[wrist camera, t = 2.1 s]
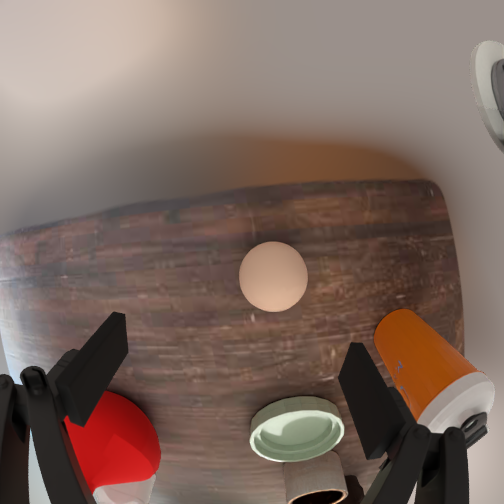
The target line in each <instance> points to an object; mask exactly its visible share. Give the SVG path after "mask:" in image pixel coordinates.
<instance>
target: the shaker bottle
mask: <svg viewBox="0 0 504 504" xmlns="http://www.w3.org/2000/svg"><path fill="white" fill-rule="evenodd" d="M374 344H375V346H376V348H377V350H378V352H379V354H380V356H381V358H382V360H383V362H384V364H385V366H386V367H387V369H388V371H389V373H390V375H391V377H392V379H393V381H394V383H395V385H396V387H397V389H398V391H399V392H400V393H401V395H402V397H403V399H404V401H405V402H406V404H407V406H408V407H409V409H410V411H411V413H412V415H413V416H414V418H415V420H416V422H417V424H422V425H424V426H426V427H428V428H429V430H430V431H431V432H432V433H444V431H445V430H446V429H447V428H448V427H453V426H454V427H457V428H459V429H461V430H462V431H463V433H464V435H465V439H466V448H467V449H468V448H469V447H471V446H472V445H473V444H475V443H476V442H477V441H478V440H480V439H481V438H482V437H483V436H485V435H486V434H487V433H488V432H489V427H488V425H487V423H486V422H487V415H488V413H489V412H490V410H491V408H492V405H493V402H494V397H495V387H494V384H493V383H492V382H491V381H490V380H489V378H488V377H487V376H486V375H485V374H484V372H481V371H478V370H477V369H476V368H475V367H474V366H473V365H472V364H471V363H470V362H469V361H467V360H466V359H465V358H464V357H463V356H462V355H461V354H460V353H459V352H458V351H457V350H456V349H455V348H454V347H453V346H451V345H450V344H449V343H448V342H447V341H446V340H445V339H444V338H443V337H442V336H440V335H439V334H438V333H437V332H436V331H435V330H434V329H433V328H431V327H430V326H429V325H428V324H427V323H426V322H425V321H423V320H422V319H421V318H420V317H419V316H418V315H417V314H415V313H414V312H413V311H411V310H409V309H398V310H395V311H393V312H391V313H389V314H388V315H387V316H385V317H384V318H383V319H382V320H381V322H380V323H379V324H378V326H377V328H376V330H375V333H374Z"/></svg>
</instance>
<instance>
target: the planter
mask: <svg viewBox="0 0 504 504" xmlns="http://www.w3.org/2000/svg"><path fill="white" fill-rule="evenodd" d="M283 472H284V482H285V491H286V502H287V504H336V503H338V502H340V501H342V500H343V499H345V498H346V497H347V495H348V491H347V487H346V482H345V478H344V474H343V469H342V465H341V461H340V457H339V455H338V454H337V453H336V452H334V451H331V450H329V451H328V452H326V453H324V454H322V455H320V456H318V457H315V458H312V459H309V460H304V461H298V462H285V464H284V466H283Z"/></svg>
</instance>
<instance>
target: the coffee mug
mask: <svg viewBox="0 0 504 504" xmlns="http://www.w3.org/2000/svg"><path fill="white" fill-rule="evenodd" d="M344 478H345V482H346V487H347V491H348V495H347V497H346V498H345V499H343V500H342V501H340V502H338V503H336V504H360V503H361V501H362V500H363V498H364V497H365V495H364V492H363V488H362V487H361V486H360V484H359V482H358V480H357V478H356V476H344Z"/></svg>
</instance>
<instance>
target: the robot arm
mask: <svg viewBox="0 0 504 504" xmlns="http://www.w3.org/2000/svg"><path fill="white" fill-rule="evenodd" d="M491 84H492V90H493V94H494V98H495V101H496V104H497V107H498V110H499V112H500V115H501V117H502V119H503V121H504V59H501V60H497V61H496V62H495V63H494V64H493V66H492V70H491ZM127 354H128V342H127V332H126V320H125V314H123V313H118V312H113V313H112V314H111V315H110V316H109V317H108V318H107V319H106V321H105V322H104V323H103V324H102V325H101V326H100V327H99V329H98V330H97V331H96V332H95V333H94V334H93V335H92V337H91V338H90V339H89V340H88V341H87V342H86V344H85V345H84V346H83V347H82V348H81V349H80V351H79V350H76V349H72V350H70V351H68V352H66V353H65V354H64V355H63V356H62V357H61V359H60V360H59V361H58V362H57V363H56V364H55V365H54V367H53V368H52V369H51V370H50V371H49V372H48V374H47V375H46V374H45V372H44V370H43V369H42V368H40V367H37V366H30V367H27V368H25V369H24V370H23V371H22V372H21V374H20V379H21V381H22V384H23V385H19V384H15V383H14V381H13V379H12V377H10V376H9V375H6V374H1V375H0V504H30V503H29V486H28V485H29V484H28V459H29V457H28V456H29V439H30V427H31V432H32V437H33V442H34V447H35V451H36V455H37V460H38V463H39V467H40V471H41V474H42V478H43V481H44V484H45V487H46V490H47V493H48V496H49V499H50V502H51V504H97V503H96V501H95V499H94V497H93V495H92V493H91V491H90V489H89V486H88V484H87V482H86V480H85V477H84V475H83V472H82V470H81V467H80V465H79V462H78V460H77V457H76V454H75V451H74V449H73V446H72V443H71V440H70V437H69V434H68V430H67V427H66V424H65V421H64V419H65V417H66V416H67V415H68V418H69V420H70V422H71V423H73V424H76V425H78V426H81V427H83V428H84V426H85V425H86V423H87V421H88V419H89V418H90V416H91V414H92V412H93V410H94V409H95V407H96V405H97V404H98V402H99V400H100V398H101V397H102V395H103V393H104V392H105V390H106V388H107V387H108V385H109V383H110V381H111V380H112V378H113V376H114V375H115V373H116V372H117V370H118V368H119V367H120V365H121V363H122V362H123V360H124V358H125V357H126V355H127ZM338 379H339V382H340V385H341V388H342V390H343V393H344V396H345V398H346V401H347V404H348V407H349V410H350V412H351V415H352V418H353V421H354V424H355V427H356V429H357V432H358V435H359V438H360V441H361V444H362V447H363V450H364V453H365V456H366V459H367V460H370V459H376V458H381V457H382V455H383V454H384V453H385V451H386V452H387V455H388V457H387V459H386V460H385V461H384V462H383V463H382V465H381V466H380V467H379V468H380V471H379V473H378V475H377V476H376V478H375V480H374V482H373V483H372V485H371V487H370V489H369V490H368V492H367V493H366V495H365V497H364V498H363V500H362V501H361V503H360V504H407V503H408V500H409V498H410V496H411V494H412V491H413V489H414V486H415V484H416V482H417V488H416V496H415V502H414V504H469V473H468V459H467V448H466V439H465V435H464V433H463V431H462V430H461V429H459V428H457V427H454V426H453V427H448V428H447V429H446V430H445V431H444V433H432V432H431V431H430V430H429V428H428V427H426V426H424V425H422V424H417V422H416V420H415V418H414V416H413V415H412V413H411V411H410V409H409V407H408V406H407V404H406V402H405V401H404V399H403V397H402V395H401V393H400V392H399V391H398V390H396V389H395V388H394V387H387V385H386V384H385V382H384V380H383V378H382V376H381V375H380V373H379V371H378V369H377V367H376V366H375V364H374V362H373V360H372V359H371V357H370V355H369V353H368V352H367V350H366V348H365V346H364V345H363V343H354V342H351V344H350V347H349V349H348V352H347V355H346V358H345V360H344V363H343V366H342V368H341V371H340V374H339V376H338Z"/></svg>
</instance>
